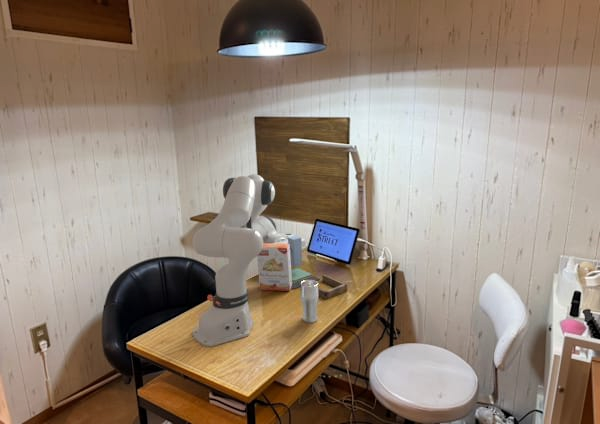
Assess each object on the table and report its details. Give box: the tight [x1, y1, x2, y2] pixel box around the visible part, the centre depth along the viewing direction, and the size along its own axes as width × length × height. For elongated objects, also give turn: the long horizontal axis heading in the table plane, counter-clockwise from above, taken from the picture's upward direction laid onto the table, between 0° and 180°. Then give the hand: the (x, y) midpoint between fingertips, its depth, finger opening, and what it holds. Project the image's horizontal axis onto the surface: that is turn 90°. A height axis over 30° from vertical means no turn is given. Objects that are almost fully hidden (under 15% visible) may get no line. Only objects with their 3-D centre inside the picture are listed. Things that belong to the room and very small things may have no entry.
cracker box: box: [256, 243, 293, 292], centre depth 184 cm, size 14×6×21 cm, turn 80°
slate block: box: [288, 235, 303, 268], centre depth 198 cm, size 5×5×14 cm
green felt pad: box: [291, 267, 313, 283], centre depth 201 cm, size 11×11×1 cm
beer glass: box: [299, 280, 320, 323], centre depth 158 cm, size 7×7×15 cm
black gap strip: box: [290, 275, 320, 290], centre depth 192 cm, size 16×5×1 cm, turn 129°
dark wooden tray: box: [318, 274, 348, 300], centre depth 185 cm, size 12×15×3 cm
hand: (296, 249), depth 197 cm, fingers closed on slate block, 5 cm apart
